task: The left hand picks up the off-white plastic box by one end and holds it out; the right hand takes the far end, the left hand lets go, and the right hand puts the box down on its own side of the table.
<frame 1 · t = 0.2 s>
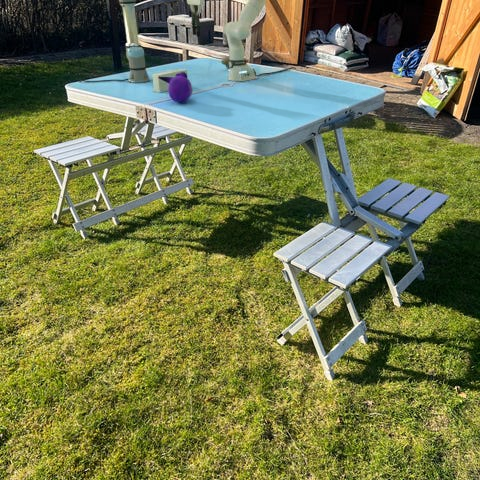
left hand: (196, 35, 349), 28 cm above the table, tool pointing down, fingers open, 13 cm apart
right hand: (196, 12, 302), 47 cm above the table, tool pointing down, fingers open, 8 cm apart
toy: (177, 100, 284), on the table
box: (171, 88, 314), on the table
teapot: (233, 70, 373), on the table
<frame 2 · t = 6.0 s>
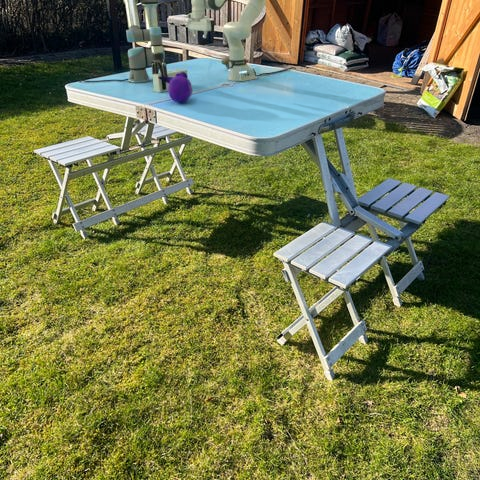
left hand: (161, 88, 308), 2 cm above the table, tool pointing down, fingers closed on box, 6 cm apart
right hand: (200, 37, 311), 31 cm above the table, tool pointing down, fingers open, 8 cm apart
box: (171, 88, 314), on the table, touching left hand
everything else where it was.
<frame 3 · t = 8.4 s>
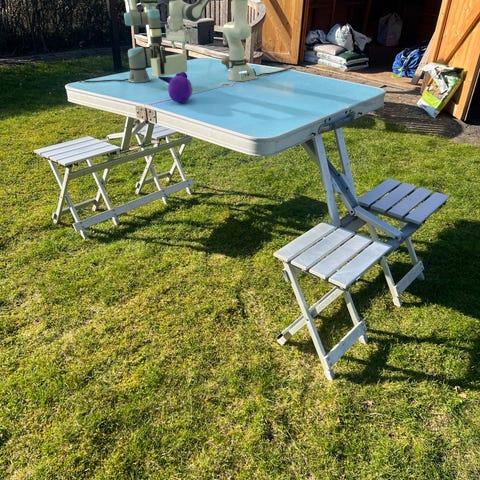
left hand: (159, 73, 303), 12 cm above the table, tool pointing down, fingers closed on box, 6 cm apart
right hand: (178, 48, 307), 25 cm above the table, tool pointing down, fingers open, 8 cm apart
box: (170, 73, 309), point 10 cm above the table, touching left hand
everything else where it was.
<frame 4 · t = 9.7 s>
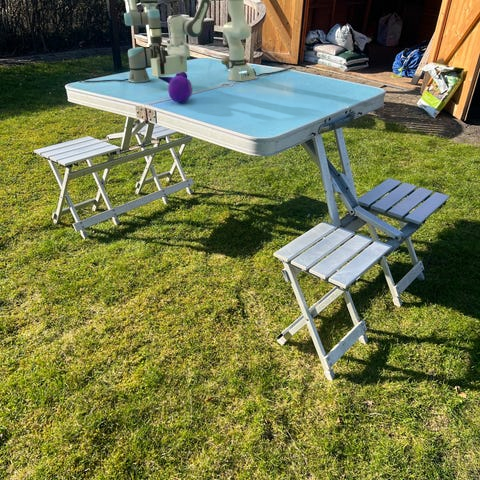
left hand: (159, 73, 303), 12 cm above the table, tool pointing down, fingers closed on box, 6 cm apart
right hand: (179, 63, 312), 16 cm above the table, tool pointing down, fingers closed on box, 6 cm apart
box: (170, 73, 309), point 10 cm above the table, touching left hand, right hand
everything else where it was.
when the left hand's fingers open (12 cm above the table, at t = 10.9 s): box stays where it is, held by the right hand.
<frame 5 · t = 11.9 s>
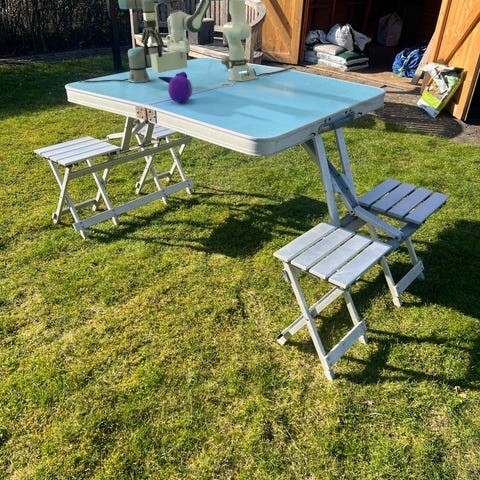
left hand: (153, 55, 295), 23 cm above the table, tool pointing down, fingers open, 13 cm apart
right hand: (179, 58, 310), 19 cm above the table, tool pointing down, fingers closed on box, 6 cm apart
box: (170, 69, 308), point 13 cm above the table, touching right hand
everything else where it was.
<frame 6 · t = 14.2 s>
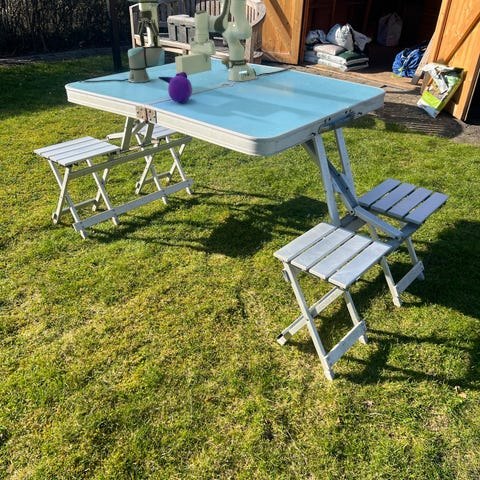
left hand: (149, 47, 290), 28 cm above the table, tool pointing down, fingers open, 13 cm apart
right hand: (203, 61, 298), 19 cm above the table, tool pointing down, fingers closed on box, 6 cm apart
box: (194, 72, 295), point 13 cm above the table, touching right hand
everything else where it was.
when the right hand's fingers open (7 cm above the table, at t = 18.5 s): box stays where it is, resting on toy.
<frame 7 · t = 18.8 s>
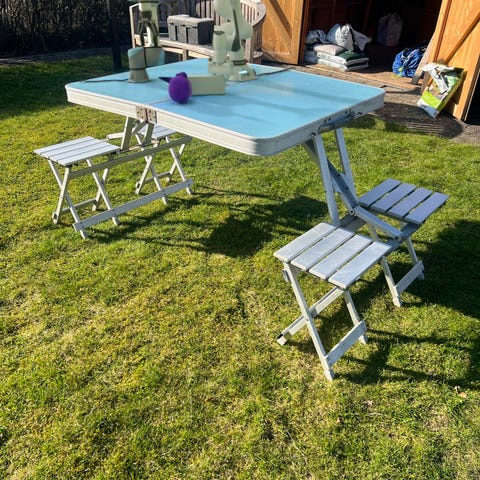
left hand: (149, 47, 290), 28 cm above the table, tool pointing down, fingers open, 13 cm apart
right hand: (221, 81, 295), 8 cm above the table, tool pointing down, fingers open, 8 cm apart
toy: (177, 100, 284), on the table, touching box
box: (205, 93, 296), point 1 cm above the table, touching toy
everything else where it was.
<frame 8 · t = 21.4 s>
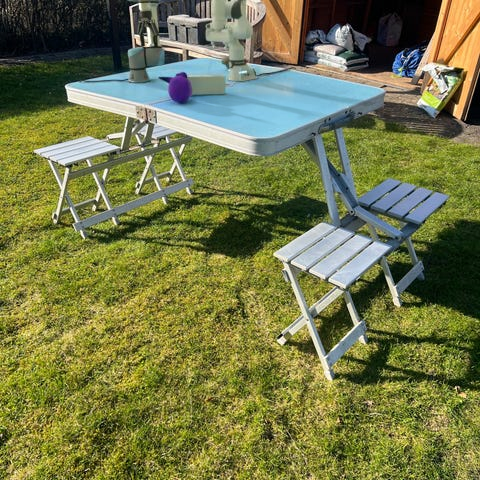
left hand: (149, 47, 290), 28 cm above the table, tool pointing down, fingers open, 13 cm apart
right hand: (219, 49, 285), 27 cm above the table, tool pointing down, fingers open, 8 cm apart
nothing on the table moved.
at the end: box inside the target area (11.3 cm from its centre), point 0.8 cm above the table; the left hand is holding nothing; the right hand is holding nothing; box at rest at the end (0.0 cm/s) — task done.
